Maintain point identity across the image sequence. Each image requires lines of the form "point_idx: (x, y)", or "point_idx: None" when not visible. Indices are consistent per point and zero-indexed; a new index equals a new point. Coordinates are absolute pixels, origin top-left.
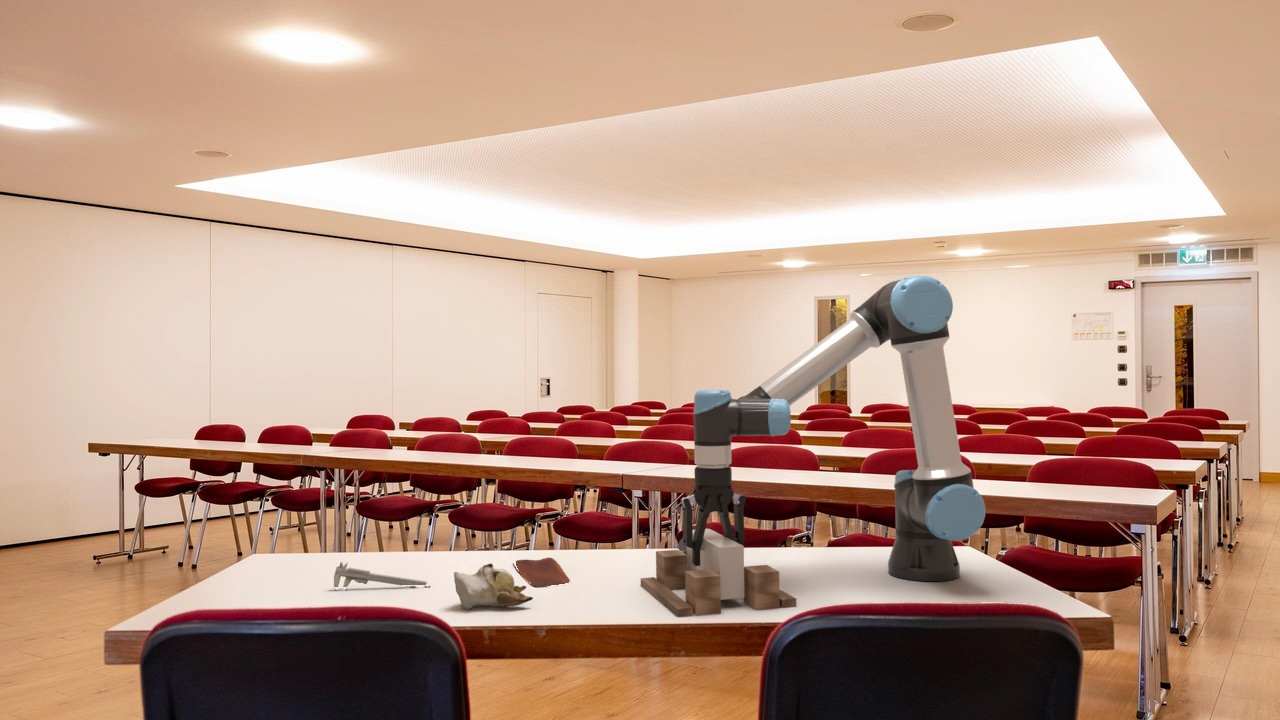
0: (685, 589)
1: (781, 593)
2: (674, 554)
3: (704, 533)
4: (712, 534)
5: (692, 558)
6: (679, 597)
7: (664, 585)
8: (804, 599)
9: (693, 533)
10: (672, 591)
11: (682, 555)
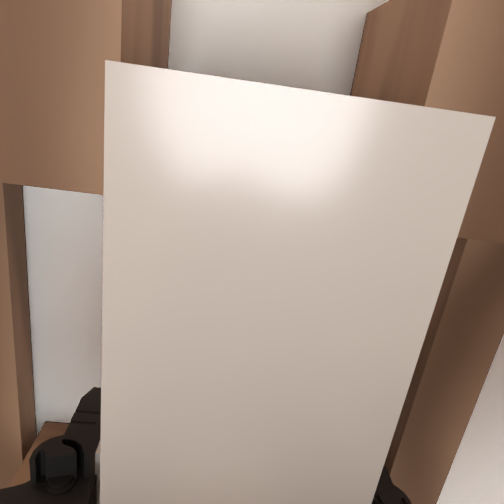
0: (12, 480)
1: (418, 495)
2: (18, 120)
3: (238, 409)
4: (290, 487)
5: (73, 415)
6: (15, 412)
7: (2, 190)
8: (489, 478)
9: (105, 362)
10: (12, 315)
11: (76, 190)
